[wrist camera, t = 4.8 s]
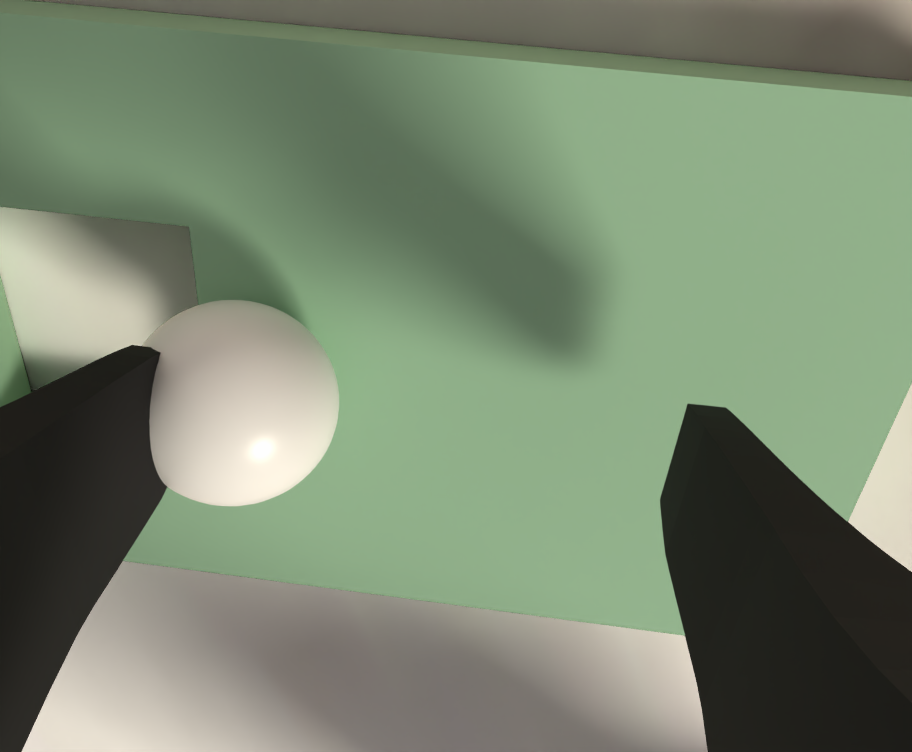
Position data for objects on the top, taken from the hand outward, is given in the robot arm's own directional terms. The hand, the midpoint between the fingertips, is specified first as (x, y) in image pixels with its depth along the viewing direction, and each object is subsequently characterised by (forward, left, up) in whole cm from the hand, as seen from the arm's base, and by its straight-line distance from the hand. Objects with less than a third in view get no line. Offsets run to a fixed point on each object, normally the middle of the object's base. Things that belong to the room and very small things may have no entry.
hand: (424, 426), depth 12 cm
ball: (+3, 0, -1) cm, 3 cm away
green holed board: (+2, +1, -4) cm, 5 cm away
